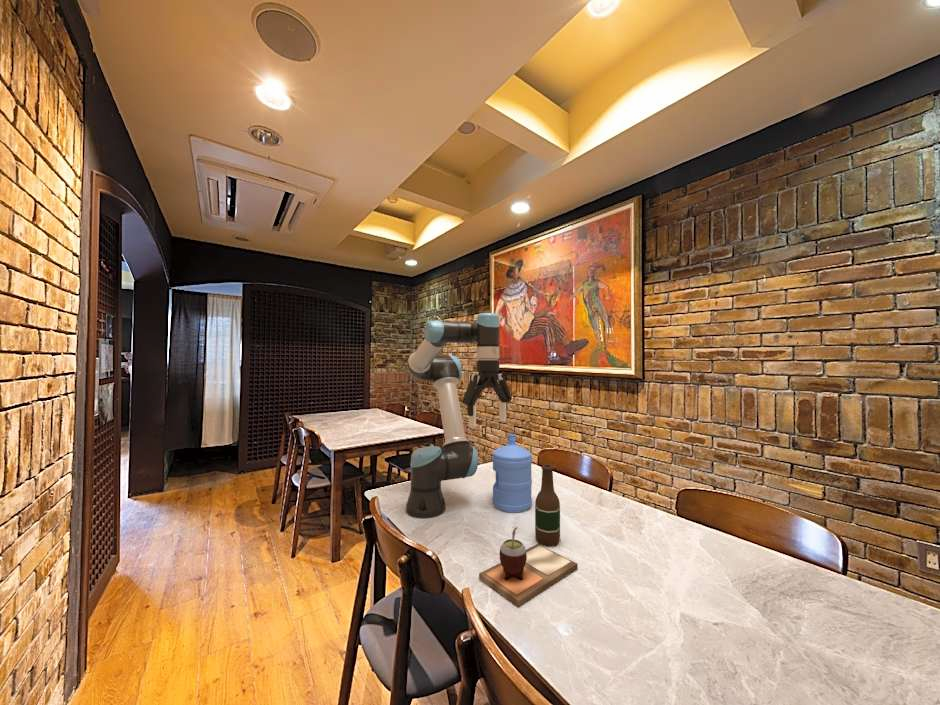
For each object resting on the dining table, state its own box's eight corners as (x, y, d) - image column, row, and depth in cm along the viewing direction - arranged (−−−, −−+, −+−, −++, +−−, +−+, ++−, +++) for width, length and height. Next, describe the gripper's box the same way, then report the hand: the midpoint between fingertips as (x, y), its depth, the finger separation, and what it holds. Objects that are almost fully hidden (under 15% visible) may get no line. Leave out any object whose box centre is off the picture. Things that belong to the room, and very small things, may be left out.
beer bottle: (560, 548, 110) (560, 470, 111) (534, 545, 112) (534, 468, 112) (559, 536, 118) (559, 462, 118) (535, 534, 119) (535, 461, 120)
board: (479, 579, 95) (479, 572, 95) (537, 548, 110) (537, 542, 110) (518, 607, 84) (518, 599, 84) (577, 569, 100) (577, 562, 100)
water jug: (537, 502, 146) (537, 433, 146) (521, 516, 132) (521, 440, 133) (503, 494, 154) (503, 429, 155) (485, 507, 141) (485, 435, 141)
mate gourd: (511, 564, 99) (511, 509, 99) (534, 576, 93) (534, 518, 93) (492, 575, 94) (492, 517, 94) (516, 589, 88) (516, 527, 88)
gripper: (466, 359, 109) (466, 430, 109) (521, 359, 125) (521, 420, 124) (451, 359, 115) (451, 426, 114) (506, 359, 131) (506, 418, 130)
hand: (488, 423), depth 119 cm, fingers open, 13 cm apart
